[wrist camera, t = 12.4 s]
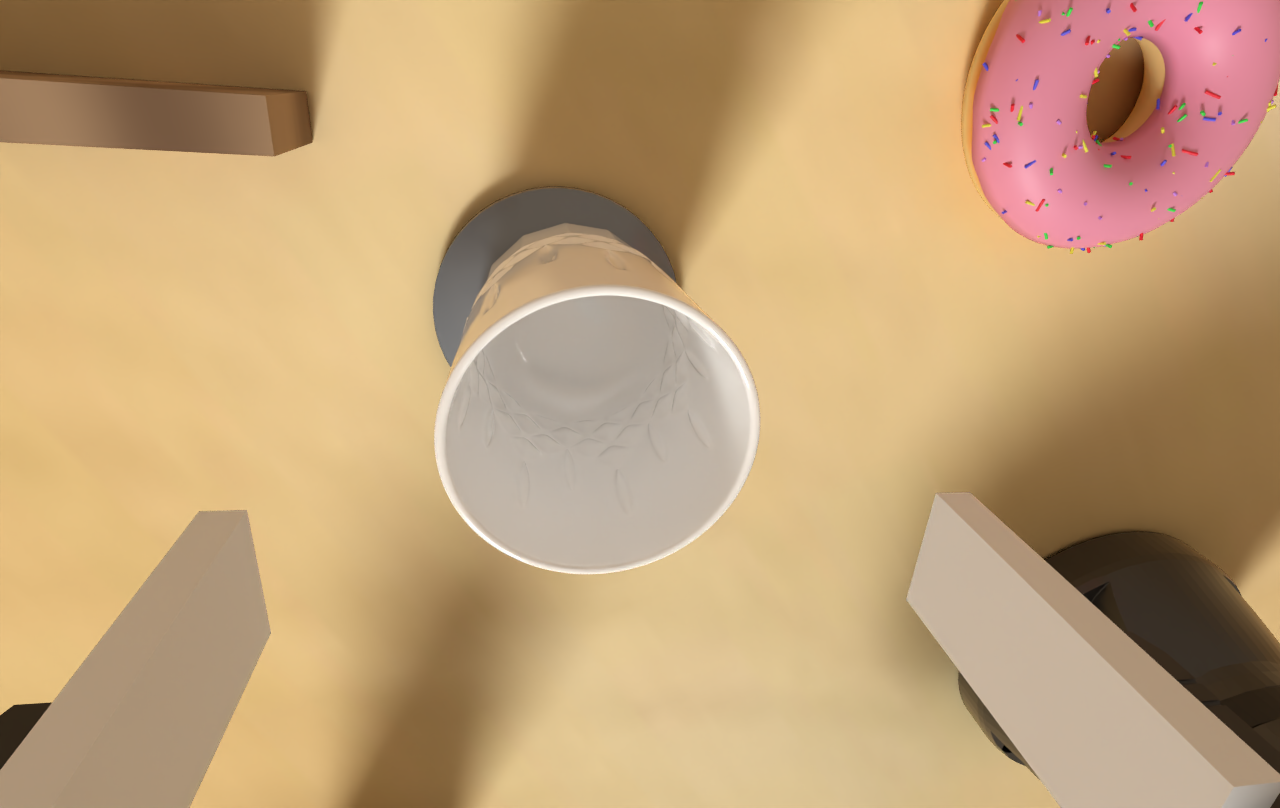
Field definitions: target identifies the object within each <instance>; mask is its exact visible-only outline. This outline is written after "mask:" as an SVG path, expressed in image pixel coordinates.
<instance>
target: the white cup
mask: <svg viewBox="0 0 1280 808" xmlns="http://www.w3.org/2000/svg"><path fill="white" fill-rule="evenodd" d="M759 435H760V406H759V399H758V394H757V389H756V386H755V382H754V379H753V376H752V374H751V371H750V369H749V367H748V365H747V363H746V361H745V359H744V357H743V355H742V354H741V352H740V351H739V349H738V348H737V346H736V345H735V343H734V342H733V341H732V340H731V338H730V337H729V336H728V335H727V334H726V333H725V332H724V331H723V330H722V329H721V328H720V327H719V326H718V325H717V324H716V323H715V322H714V321H713V320H712V319H711V318H710V317H709V316H708V315H707V314H706V313H705V312H704V311H703V310H702V309H701V308H700V307H699V306H698V305H697V304H696V303H695V302H694V301H693V300H692V299H691V298H690V297H689V296H688V295H687V294H686V292H685V291H684V290H683V289H682V288H681V287H680V286H679V285H678V284H677V283H676V282H675V281H674V280H673V279H672V278H671V277H670V276H668V275H667V274H666V273H665V272H664V271H663V270H662V269H661V268H659V267H658V266H657V265H656V264H655V263H654V262H652V261H651V260H650V259H649V258H648V257H646V256H645V255H644V254H642V253H641V252H639V251H638V250H636V249H634V248H633V247H631V246H630V245H629V244H627V243H626V242H624V241H623V240H622V239H620V238H619V237H617V236H616V235H615V234H613V233H612V232H610V231H609V230H607V229H600V228H594V227H588V226H582V225H576V224H570V223H562V224H559V225H556V226H552V227H549V228H546V229H542V230H539V231H536V232H532V233H529V234H526V235H523V236H522V237H521V238H520V239H519V240H518V241H517V242H515V243H514V244H513V245H512V246H511V247H510V248H509V249H508V250H507V251H506V252H505V253H504V254H503V255H502V256H501V257H500V258H498V259H497V260H496V261H495V262H494V263H493V264H492V265H491V268H490V271H489V273H488V276H487V279H486V282H485V284H484V285H483V287H482V288H481V290H480V292H479V293H478V295H477V297H476V299H475V301H474V304H473V307H472V309H471V311H470V313H469V316H468V317H467V321H466V324H465V327H464V330H463V333H462V336H461V339H460V342H459V345H458V348H457V351H456V354H455V357H454V360H453V363H452V366H451V369H450V372H449V375H448V378H447V381H446V384H445V387H444V389H443V392H442V395H441V398H440V402H439V405H438V409H437V414H436V420H435V431H434V446H435V456H436V462H437V467H438V471H439V474H440V478H441V481H442V483H443V486H444V488H445V491H446V493H447V495H448V497H449V499H450V501H451V502H452V504H453V506H454V507H455V509H456V510H457V512H458V513H459V514H460V516H461V517H462V518H463V520H464V521H465V522H466V523H467V524H468V525H469V526H470V527H471V528H472V529H473V530H474V531H475V532H476V533H477V534H478V535H479V536H480V537H481V538H483V539H484V540H485V541H486V542H488V543H489V544H490V545H492V546H493V547H495V548H496V549H498V550H499V551H501V552H503V553H505V554H506V555H508V556H510V557H512V558H514V559H517V560H519V561H521V562H524V563H526V564H529V565H532V566H535V567H538V568H542V569H546V570H551V571H556V572H562V573H571V574H603V573H612V572H618V571H624V570H628V569H632V568H636V567H640V566H643V565H646V564H649V563H652V562H654V561H657V560H659V559H662V558H664V557H666V556H668V555H670V554H672V553H674V552H676V551H678V550H680V549H681V548H683V547H685V546H686V545H688V544H689V543H691V542H692V541H694V540H695V539H696V538H698V537H699V536H700V535H702V534H703V533H704V532H705V531H706V530H708V529H709V528H710V527H711V526H712V525H713V524H714V523H715V522H716V521H717V520H718V519H719V518H720V517H721V516H722V515H723V514H724V513H725V511H726V510H727V509H728V508H729V506H730V505H731V504H732V502H733V501H734V500H735V498H736V497H737V495H738V494H739V492H740V490H741V489H742V487H743V485H744V483H745V481H746V479H747V477H748V475H749V473H750V470H751V468H752V465H753V462H754V459H755V455H756V451H757V447H758V442H759Z"/></svg>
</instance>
